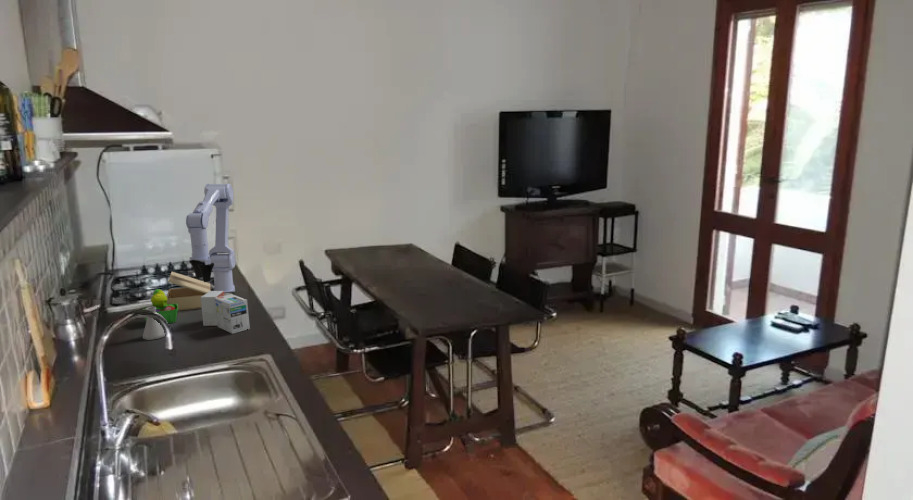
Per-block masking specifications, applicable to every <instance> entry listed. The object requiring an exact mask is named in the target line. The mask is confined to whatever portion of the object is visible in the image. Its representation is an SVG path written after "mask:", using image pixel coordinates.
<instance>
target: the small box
mask: <svg viewBox="0 0 913 500" xmlns="http://www.w3.org/2000/svg"><path fill="white" fill-rule="evenodd" d="M225 294H226V293H224V291H214V290H211V291H209V292H208V293H206V294H205V295H203V296H202V297H200V298H201V307H202V308H201V315H202V324H203V326H204V327H205V326H206V327H209V326H210V327H211V326H212V327H214V326H217V327H218V323H217V313H216V304H215V298H216V297H221V296H225Z"/></svg>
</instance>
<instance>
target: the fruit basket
mask: <svg viewBox="0 0 913 500" xmlns="http://www.w3.org/2000/svg"><path fill="white" fill-rule="evenodd" d="M150 302H151V304H152V306H150V307H156V310H155V311H156V312H157V313H159V314H161V315H162V316H163V317H164V318H165V319H166V320H167V322H168V323H167V324H171V323H176V322H177V316H178V304H167V294H166V293H165V291H163V290H161V289H160V288H159V289H158V288H157V289H154V291H153V293H152V296H151V297H150ZM148 307H149V306H146V307H143V308H142V310H143V309H146V308H148ZM144 319H145V322H146V321H147V318H145V317H144Z"/></svg>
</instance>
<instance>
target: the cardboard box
mask: <svg viewBox="0 0 913 500" xmlns="http://www.w3.org/2000/svg"><path fill="white" fill-rule="evenodd" d="M210 291H212V290H211V289H210ZM205 294H206V293H203V292H199V291H196V290H193V289H189V288H186V287H179V288H178V287H177V288H170V289H168V292H167V294H166V297H167V304H178V311H179V312H180V311H188V310H197V309H202V307H201V298H200V297H202V296H203V295H205ZM178 311H177V312H178Z"/></svg>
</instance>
